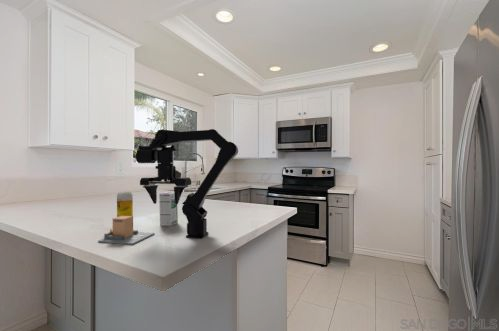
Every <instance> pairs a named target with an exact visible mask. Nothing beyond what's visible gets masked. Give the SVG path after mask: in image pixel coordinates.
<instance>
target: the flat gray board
mask: <svg viewBox="0 0 499 331" xmlns="http://www.w3.org/2000/svg"><path fill="white" fill-rule="evenodd" d="M155 234H156V233H155V232H145V231H144V232H143V231H139V230H137V229H133V235H132V236H129V237H127V238H125V239H124V236H118V235H113V228H111V229H109V232H105V233H104V236H103V238H101V239H99V240H98V241H97V243H103V244H114V245H115V244H116V245H129V246H135V245H136V244H138V243H140V242H142V241H144V240H146V239H148V238H150V237H152V236H154V235H155Z"/></svg>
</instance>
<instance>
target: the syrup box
mask: <svg viewBox="0 0 499 331" xmlns="http://www.w3.org/2000/svg"><path fill="white" fill-rule="evenodd" d="M158 196H159V197H158V199H159V201H158V202H159V225H160V226H162V227H172V226H174V225H176V224H178V221H179V220H178V217H179V216H178V204H177V205H176V204H175V195H174V191H166V192H161V193H159V194H158Z"/></svg>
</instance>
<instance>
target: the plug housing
mask: <svg viewBox="0 0 499 331" xmlns="http://www.w3.org/2000/svg"><path fill="white" fill-rule="evenodd" d="M133 230H134V216H119V217H117V216H116V217H112V231H113V235H118V236H124V239H125V238H127V237H129V236H132V235H133Z"/></svg>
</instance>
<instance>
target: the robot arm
mask: <svg viewBox="0 0 499 331" xmlns="http://www.w3.org/2000/svg"><path fill="white" fill-rule="evenodd" d="M204 141H206V142H207V141H212V142H213V143H214V144H215V145H216V146H217V147H218V148H219V151H218V154H217V157H216V159H215V162H214V164H213V165H212V167H211V168H210V170H209V171H208V172H207V174H206V176H205V178H204V179H203V181H202V182H201V184H200V185H199V187H198V188H197V190H196V191H195V192H191V193H188V194H187V196H186V198H185V200H184V201H183V202H182V207H181V210H182V211H181V212H182V213H183V215H184V216H185V217H186V220H187V223H186V235H185V237H186V238H190V239H191V238H194V239H203V238H204V237H206V236H207V235H208V234H209V231H207V229H208V228H207V224H208V223H207V221H208V220H207V218H206V217H207V214H208V211H207V210H206V209H205V208H204V207H203V205H204V203H205V200H206V197H207V195H208V194H209V192H210V191H211V189H212V188H213V185H214V184H215V183H216V181H218V178H219V177H220V176H221V174H222V172H223V170H224V169H225V168H226V166H228V164H230V163H231V161H233V160H234V158H235V157H236V156H237V155H238V153H239V148H238V145H237V144H235V142H232V141H228V140H227V139H226V138H224V136H222V135H221V134H220V133H219V132H218V130H216V129H215V128H214V129H213V128H211V129H207V130H206V129H205V130H204V129H202V130H190V131H189V130H185V131H176V130H168V129H158V130H157V132H156V133H155V135H154V138H153V139H152V141H151V142H150V143H149V145H138V149H137V150H136V153H135V159H136V162H137V163H138V164H155V163H156V162H157V165H155V169H156V170H157V176H154V177H153V176H148V177H141V179H140V180H139V185H140V186H142V188H144V190H146V192H147V193H148V195H149V197H150V199H151V201H152V203H153V204H155V205H156V204H157V200H158V199H157V198H158V197H157V196H158V193H157V189H158V187H159V185H161V184H163V185H174V186H173V192H174V195H175V204H176V205H177V206H178V205H179V202H180V199H181V197H182V194H183V192H184V190H185V188H188V187H189V186H190V185H192V179H191V178H190V177H182V172H180V171H178V170H177V169H176V165H174V152H179V151H180V150H179V149H178V147H176V146H175V145H178V144H181V143H189V142H191V143H192V142H204Z"/></svg>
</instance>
